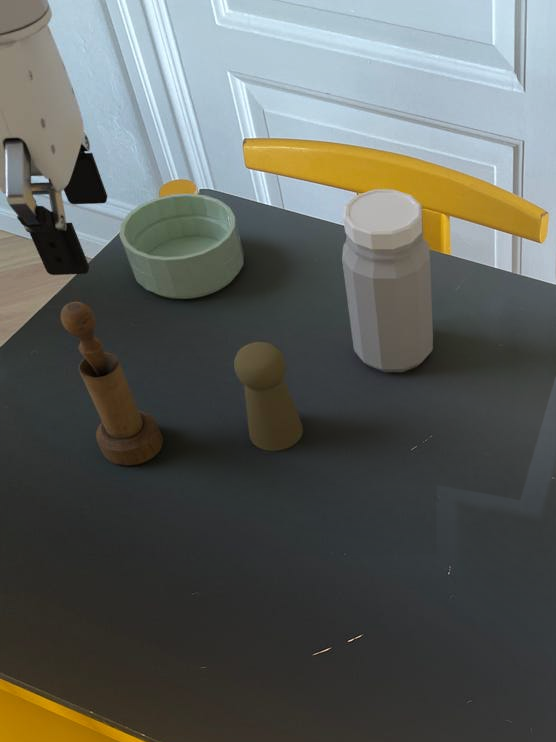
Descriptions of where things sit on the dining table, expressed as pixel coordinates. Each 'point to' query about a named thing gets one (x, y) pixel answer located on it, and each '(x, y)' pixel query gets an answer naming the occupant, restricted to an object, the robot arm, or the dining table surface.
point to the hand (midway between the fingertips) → (79, 235)
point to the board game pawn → (267, 397)
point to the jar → (388, 280)
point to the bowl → (182, 245)
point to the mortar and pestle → (111, 395)
